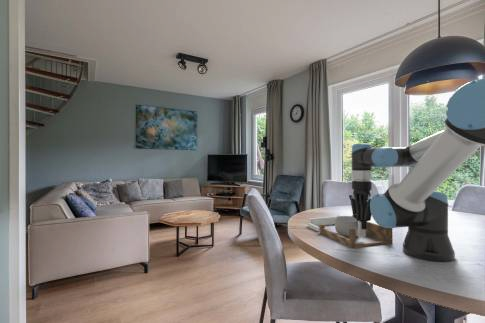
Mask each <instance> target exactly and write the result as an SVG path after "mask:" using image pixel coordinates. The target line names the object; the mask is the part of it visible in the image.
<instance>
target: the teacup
mask: <svg viewBox="0 0 485 323" xmlns="http://www.w3.org/2000/svg"><path fill="white" fill-rule="evenodd" d="M334 219H335V224H334V225H335V226H334V227H335V233H336V234H339V235H341V236H343V237H346V238H348V239H349V229H354V230H355V232H356V236H358V227H357V220H356V218H354V217H353V216H352V215H337V216H336V217H335V218H334Z"/></svg>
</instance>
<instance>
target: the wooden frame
mask: <svg viewBox="0 0 485 323" xmlns="http://www.w3.org/2000/svg"><path fill="white" fill-rule="evenodd" d="M351 216H353V214H352V215H351ZM325 226H326V225H324V224H320V226H319V227H320V232H319V234H322V235H324V236H326V237H329V238H330V239H333V240H335V241H336V242H338V243H341V244H343V245H345V246H347V247H349V248H351V249H357V248H363V247H372V246H380V245H381V246H382V245H390V244H392V245H393V242H394V241H393V228H384V227H381V226H380V225H378V224H377V223H374V222H372V221H371V222H370V221H367V222H366V236H369V237H371V238H374V239H377V240H379V241H371V242H362V243H356V241H357V240H356V236H357V235H356V232H355V230H354V229H349V238H348V237H343V236H341V235H340V234H338V233H337V232H334V231H332V230H329V229H327V228H326V227H325Z"/></svg>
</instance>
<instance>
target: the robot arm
mask: <svg viewBox="0 0 485 323" xmlns="http://www.w3.org/2000/svg"><path fill="white" fill-rule="evenodd" d="M445 107H446V108H447V110H446V111H445V115H446V118H445V119H444V121H443V124H444V126H445V129H443V130H441V131H439V132H436V133H434V134H431V135H430V136H427V137H424V138H423V139H420V140H418V141H416V142H414V143H412V144H410V145H407V146H405V147H404V146H403V147H402V146H400V147H398V146H397V147H391V146H379V147H372V144H371V143H355V144H353V145H352V146H351V180H352V181H351V189H352V190H353V191H352V194H349V195H348V198H349V201H350V206H351V212H352V215H353V217H354V218H356V220H357V227H358V235H357V237H359V238H363V237H364V238H365V237H366V236H367V235H366V222H367V221H368V222H370V221H372V220H371V219H373V220H374V221H375V224H378V225H380V226H381V227H384V228H392V229H396V228H407V231H406V235H405V238H404V240H403V242H402V251H403V252H404V253H405V254H407V255H409V256H412V257H414V258H417V259H420V260H421V259H422V260H425V261H431V262H452V261H454V260H455V259H456V258H455V254H456V253H455V249H454V247H453V245H452V242H451V240H450V239H451V238H450V237H449V203H448V195H447V194H446V193H444V192H441V191H436V190H437V189H438V188H439V187H440V186H442V185H443V183H445V182H446V181H447V179H448V178H450V177H451V176H452V175H453V174H454V173H455V172H456V170H458V169H459V168H460V167H461V166H462V165H463V164H464V163H465V162H466V161H467V160H468V159H469V158H470V157H471V156H472V155H473V154H474V153H475V152H476V151H477V150H479V148H481V147H484V146H485V78H478V79H475V80H471V81H469V82H467V83H465V84H464V85H461V86H460V87H458V89H456V91H454V92H453V93H452V95H451V96H450V97H449V99H448V101H447V104H446V106H445ZM372 167H373V168H392V167H394V168H402V167H406V168H407V167H409V168H411V169H410V170H409V171H408V173H406V175H405V176H404V177H403V178H402V180H400V182H399V183H393V184H391V185H390V186H389V187H388V188H387V189H386V190H385V192H384V193H378V194H375V195H373V196H371V195H372V194H371V192H370V191H371V190H372V189H373V188H372V187H373V186H372V181H371V180H372Z"/></svg>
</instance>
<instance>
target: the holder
mask: <svg viewBox="0 0 485 323" xmlns="http://www.w3.org/2000/svg"><path fill="white" fill-rule="evenodd" d="M335 217H337V216H325V217H323V216H322V217H314V218H313V217H311V218H308V222H307V228H309V229H311V230H314V231H316V232H318V233H320V224H324V225H325V226H333V224H334V225H335V219H334V218H335Z"/></svg>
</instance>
